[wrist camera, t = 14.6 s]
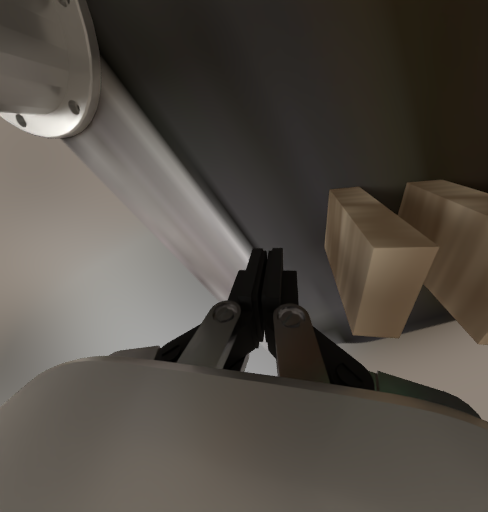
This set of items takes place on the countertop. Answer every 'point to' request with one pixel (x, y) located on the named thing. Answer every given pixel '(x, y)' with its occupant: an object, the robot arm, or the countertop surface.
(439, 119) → the countertop surface
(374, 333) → the domino
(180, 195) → the countertop surface
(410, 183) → the domino
